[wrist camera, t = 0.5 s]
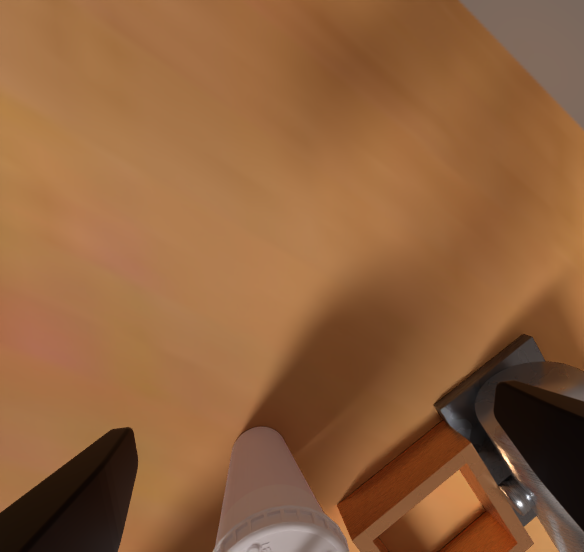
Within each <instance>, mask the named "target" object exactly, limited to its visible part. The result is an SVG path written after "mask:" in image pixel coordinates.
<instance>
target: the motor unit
mask: <svg viewBox="0 0 584 552" xmlns="http://www.w3.org/2000/svg"><path fill="white" fill-rule="evenodd" d="M511 380H514V381H519V382H522V383H525V384H528V385H532V386H535V387H538V388H542V389H545V390H548V391H552V392H555V393H558V394H561V395H565V396H568V397H571V398H575V399H578V400H581V401H584V372H583V371H581V370H580V369H577V368H575V367H573V366H569V365H566V364H562V363H557V362H546V361H545V359H544V358H543V356H542V354H541V352H540V350H539V348H538V346H537V345H536V343H535V341H534V339H533V337H531V336H528V335H525V334H523V335H521V336H520V337H519V338H518V339H516V340H515V341H514V342H513V343H511V344H510V345H509V346H508V347H506V348H505V349H504V350H503V351H501V352H500V353H499V354H498V355H496V356H495V357H494V358H492V359H491V360H490V361H489V362H487V363H486V364H485V365H484V366H482V367H481V368H480V369H479V370H477V371H476V372H475V373H474V374H472V375H471V376H470V377H469V378H467V379H466V380H465V381H464V382H462V383H461V384H460V385H459V386H457V387H456V388H455V389H453V390H452V391H451V392H450V393H448V394H447V395H446V396H445V397H443V398H442V399H441V400H440V401H438V402H437V403H436V404H435V405H434V406H435V408H436V410H437V411H438V413H439V414H440V416H441V417H442V419H443V421H441V422H440V423H439V424H438V425H436V426H435V427H434V428H433V429H431V430H430V431H429V432H428V433H426V434H425V435H424V436H423V437H421V438H420V439H419V440H418V441H416V442H415V443H414V444H413V445H411V446H410V447H409V448H408V449H406V450H405V451H404V452H403V453H402V454H400V455H399V456H398V457H397V458H395V459H394V460H393V461H392V462H390V463H389V464H388V465H387V466H385V467H384V468H383V469H382V470H380V471H379V472H378V473H377V474H375V475H374V476H373V477H372V478H370V479H369V480H368V481H367V482H365V483H364V484H363V485H362V486H360V487H359V488H358V489H357V490H355V491H354V492H353V493H352V494H350V495H349V496H348V497H347V498H346V499H344V500H343V501H342V502H341V503H339V504H338V505H337V507H338V509H339V511H340V514H341V516H342V518H343V521H344V523H345V525H346V528H347V530H348V532H349V535H350V537H351V539H352V541H353V543H354V544H355V545H356V547H357V548H358V549H359V550H360V552H389V551H388V550H387V548H386V547H385V546H384V544H383V543H382V542H381V540H380V539H379V538H378V536H379V535H380V534H382V533H383V532H384V531H385V530H386V529H388V528H389V527H390V526H391V525H392V524H394V523H395V522H396V521H397V520H398V519H400V518H401V517H402V516H403V515H404V514H406V513H407V512H408V511H409V510H411V509H412V508H413V507H414V506H415V505H417V504H418V503H419V502H420V501H421V500H423V499H424V498H425V497H426V496H427V495H429V494H430V493H431V492H432V491H433V490H435V489H436V488H437V487H438V486H439V485H441V484H442V483H443V482H444V481H445V480H447V479H448V478H449V477H450V476H452V475H453V474H454V473H455V472H456V471H458V470H460V471H461V473H462V474H463V476H464V477H465V479H466V480H467V482H468V484H469V485H470V487H471V488H472V490H473V491H474V493H475V494H476V496H477V498H478V499H479V501H480V502H481V504H482V505H483V507H484V508H485V510H486V512H485V513H483V514H482V515H481V516H480V517H479V518H478V519H476V520H475V521H474V522H473V523H472V524H471V525H469V526H468V527H467V528H466V529H465V530H463V531H462V532H461V533H460V534H459V535H458V536H456V537H455V538H454V539H453V540H452V541H451V542H449V543H448V544H447V545H446V546H445V547H444V548H442V549H441V550H440V551H439V552H525V551H526V550H527V549H529V548H530V547H531V546H532V545H533V544H534V543H533V541H532V539H531V538H530V536H529V535H528V533H527V531H526V530H525V528H524V526H525V525H526V524H528V523H529V522H530V521H531V520H532V519H533V518H534V517H536V516H537V517H538V519H539V520H540V522H541V524H542V525H543V527H544V528H545V530H546V532H547V533H548V535H549V537H550V538H551V540H552V542H553V543H554V545H555V546H556V548H557V549H558V550H559V551H560V552H584V532H583V531H582V529H581V528H580V527H579V526H578V525H577V523H576V522H575V521H574V520H573V519H572V518H571V516H570V515H569V514H568V513H567V512H566V510H565V509H564V508H563V507H562V506H561V505H560V503H559V502H558V501H557V500H556V499H555V497H554V496H553V495H552V494H551V493H550V492H549V490H548V489H547V488H546V487H545V486H544V484H543V483H542V482H541V481H540V480H539V478H538V477H537V476H536V474H535V473H534V472H533V470H532V469H531V468H530V466H529V465H528V464H527V462H526V461H525V459H524V458H523V457H522V455H521V454H520V453H519V451H518V450H517V448H516V447H515V446H514V444H513V443H512V441H511V440H510V439H509V437H508V436H507V434H506V433H505V432H504V430H503V429H502V427H501V426H500V425H499V423H498V422H497V420H496V418H495V416H494V412H493V408H494V398H495V389H496V385H497V384H498V383H499V382H503V381H511Z"/></svg>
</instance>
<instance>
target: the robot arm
mask: <svg viewBox="0 0 584 552" xmlns="http://www.w3.org/2000/svg"><path fill="white" fill-rule="evenodd" d="M493 412H494V416H495V418H496V420H497V422H498V423H499V425H500V426H501V427H502V429H503V430H504V432H505V433H506V434H507V436H508V437H509V439H510V440H511V441H512V443H513V444H514V446H515V447H516V448H517V450H518V451H519V453H520V454H521V455H522V457H523V458H524V459H525V461H526V462H527V464H528V465H529V466H530V468H531V469H532V470H533V472H534V473H535V474H536V476H537V477H538V478H539V480H540V481H541V482H542V483H543V484H544V486H545V487H546V488H547V489H548V490H549V492H550V493H551V494H552V495H553V496H554V497H555V499H556V500H557V501H558V502H559V503H560V505H561V506H562V507H563V508H564V509H565V510H566V512H567V513H568V514H569V515H570V516H571V518H572V519H573V520H574V521H575V522H576V523H577V525H578V526H579V527H580V528H581V529H582V531H583V532H584V401H581V400H578V399H575V398H571V397H568V396H565V395H561V394H558V393H555V392H552V391H548V390H545V389H542V388H538V387H535V386H532V385H528V384H525V383H522V382H519V381H514V380H511V381H503V382H499V383H498V384H497V385H496V389H495V398H494V408H493ZM137 469H138V455H137V449H136V443H135V438H134V432H133V430H132V429H131V428H130V427H126V428H118V429H112V430H110V431H109V432H107V433H106V434H105V435H103V436H102V437H101V438H99V439H98V440H97V441H95V442H94V443H93V444H91V445H90V446H89V447H87V448H86V449H85V450H83V451H82V452H81V453H79V454H78V455H77V456H75V457H74V458H73V459H71V460H70V461H69V462H67V463H66V464H65V465H63V466H62V467H61V468H59V469H58V470H57V471H55V472H54V473H53V474H51V475H50V476H49V477H47V478H46V479H45V480H43V481H42V482H41V483H39V484H38V485H37V486H35V487H34V488H33V489H31V490H30V491H29V492H27V493H26V494H25V495H23V496H22V497H21V498H19V499H18V500H17V501H15V502H14V503H13V504H11V505H10V506H9V507H7V508H6V509H5V510H3V511H2V512H1V513H0V552H118V549H119V545H120V542H121V538H122V534H123V530H124V526H125V521H126V517H127V513H128V508H129V504H130V500H131V495H132V491H133V487H134V482H135V478H136V474H137Z"/></svg>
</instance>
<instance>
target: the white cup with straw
mask: <svg viewBox="0 0 584 552" xmlns="http://www.w3.org/2000/svg"><path fill="white" fill-rule="evenodd" d="M212 552H349V549H348V545H347V540H346V538H345V536H344V535H343V533H342V531H341V530H340V528H339V526H338V525H337V524H336V523H335V522H334V521H333V520H331V519H330V518H329V517H328V516H327V515H326V514H324V512H323V510H322V508H321V507H320V505H319V503H318V502H317V500H316V498H315V496H314V494H313V492H312V491H311V489H310V487H309V485H308V483H307V481H306V480H305V478H304V476H303V474H302V472H301V470H300V469H299V467H298V465H297V463H296V461H295V459H294V458H293V456H292V454H291V452H290V450H289V449H288V447H287V445H286V443H285V441H284V439H283V438H282V436H281V435H280V434H279V433H278V432H277V431H276V430H274V429H272V428H269V427H255V428H251V429H249V430H247V431H245V432H244V433H243V434H241V435H240V436H239V437H238V439H237V440H236V442H235V444H234V446H233V449H232V454H231V459H230V465H229V471H228V477H227V482H226V488H225V494H224V500H223V505H222V511H221V517H220V522H219V528H218V533H217V538H216V544H215V548H214V550H213V551H212Z"/></svg>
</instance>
